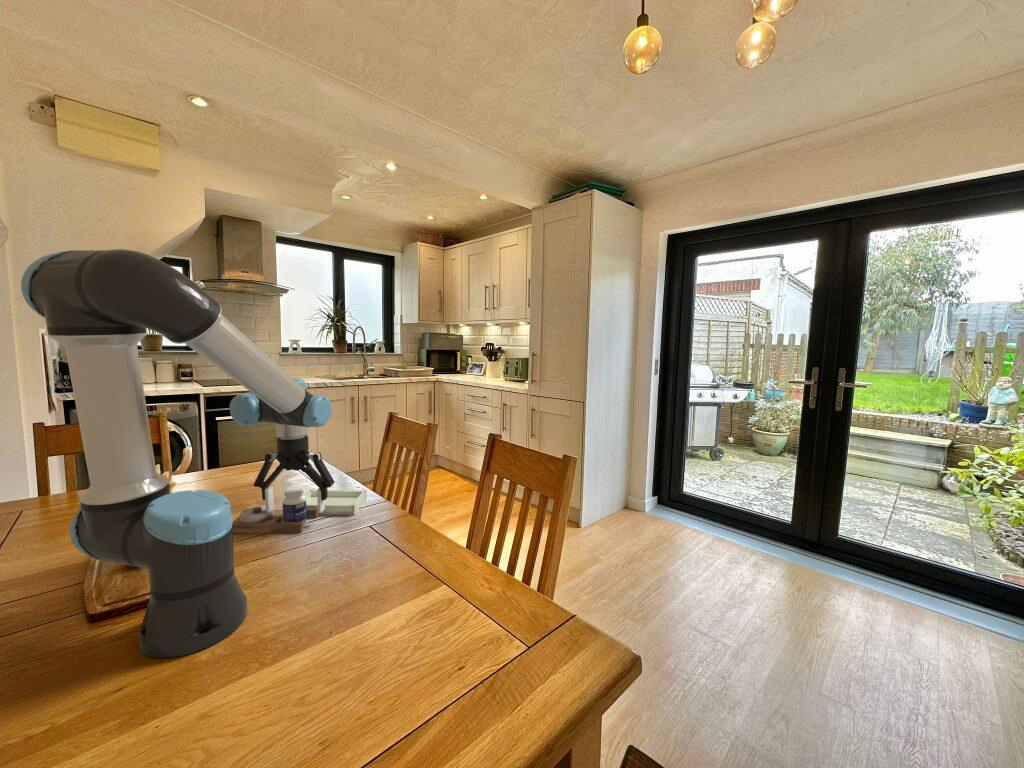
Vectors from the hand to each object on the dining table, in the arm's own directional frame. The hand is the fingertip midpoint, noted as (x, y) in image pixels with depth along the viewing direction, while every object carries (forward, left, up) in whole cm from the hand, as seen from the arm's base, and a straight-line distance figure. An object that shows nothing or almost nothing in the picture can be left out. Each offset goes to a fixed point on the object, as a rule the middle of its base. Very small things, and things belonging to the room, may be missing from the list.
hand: (295, 511), depth 112 cm
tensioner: (0, +6, -4) cm, 7 cm away
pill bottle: (0, 0, -4) cm, 4 cm away
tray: (+12, -5, -4) cm, 13 cm away
